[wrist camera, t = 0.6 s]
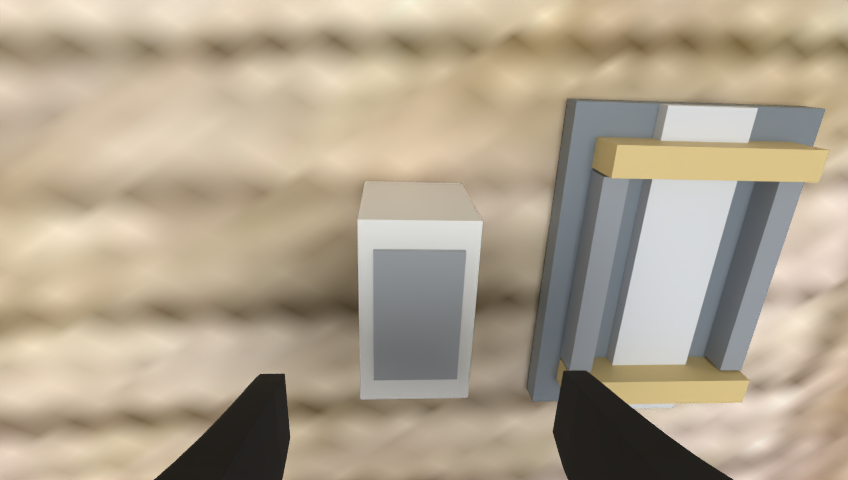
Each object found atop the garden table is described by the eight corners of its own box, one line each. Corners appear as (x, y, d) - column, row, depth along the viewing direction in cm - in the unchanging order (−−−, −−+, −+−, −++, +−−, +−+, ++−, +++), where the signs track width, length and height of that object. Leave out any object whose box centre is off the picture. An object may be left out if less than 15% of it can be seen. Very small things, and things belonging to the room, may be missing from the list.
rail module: (451, 326, 22) (468, 401, 18) (366, 326, 22) (360, 403, 17) (461, 182, 20) (483, 222, 15) (365, 180, 20) (357, 221, 15)
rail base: (716, 385, 25) (754, 424, 22) (526, 387, 24) (543, 428, 21) (804, 106, 19) (868, 114, 17) (567, 98, 19) (596, 105, 16)
